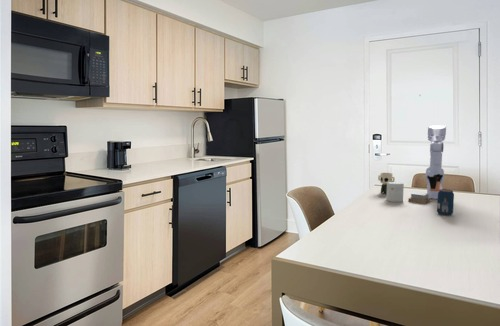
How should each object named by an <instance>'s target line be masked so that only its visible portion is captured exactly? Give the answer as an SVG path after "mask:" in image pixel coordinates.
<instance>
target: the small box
mask: <svg viewBox="0 0 500 326" xmlns="http://www.w3.org/2000/svg"><path fill="white" fill-rule="evenodd" d="M404 186H405V185H404V183H403V182H400V181H398V182H397V181H396V182H395V181H394V182H387V194H386V197H385V198H386V201H388V202H392V203H393V202H394V203H395V202H399V203H401V202H403V203H404Z"/></svg>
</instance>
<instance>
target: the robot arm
mask: <svg viewBox="0 0 500 326" xmlns="http://www.w3.org/2000/svg"><path fill="white" fill-rule="evenodd" d="M446 134H447V126H446V125H428V126H427V140H428V141H430V144H429V152H430V153H429V154H430V158H429V162H430V163H429V167H428V168H426V170H425V178H424V179H425V182H427V186H426V193H427V194H429V195H428V198H431V199H437V200H438V192H439V191H430V187H431V189H435V188H436V183H437V181H438V182H440V190H441V189H443V185H442V183H444V181H445V171H444V169H443V168H442V165H443V163H442V162H443V153H444V141H445V139H446Z"/></svg>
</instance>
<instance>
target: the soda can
mask: <svg viewBox="0 0 500 326" xmlns="http://www.w3.org/2000/svg"><path fill="white" fill-rule="evenodd" d="M454 201H455V194H454V191H453V190H451V189H445V188H442V189H441V190H439V192H438V199H437V202H436V203H437V204H436V205H437V206H436V212H437V215H440V216H443V217H444V216H446V217H450V216H453V214H454V204H455V203H454Z"/></svg>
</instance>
